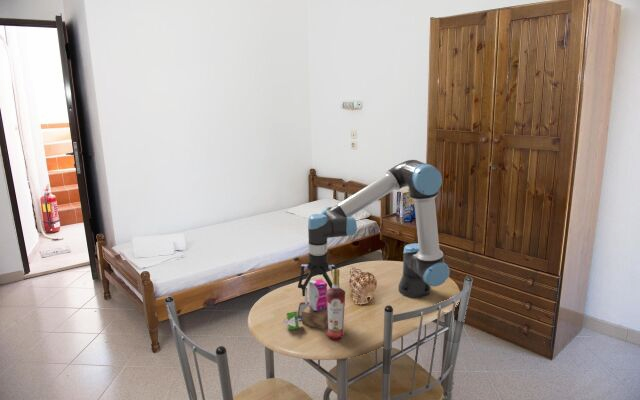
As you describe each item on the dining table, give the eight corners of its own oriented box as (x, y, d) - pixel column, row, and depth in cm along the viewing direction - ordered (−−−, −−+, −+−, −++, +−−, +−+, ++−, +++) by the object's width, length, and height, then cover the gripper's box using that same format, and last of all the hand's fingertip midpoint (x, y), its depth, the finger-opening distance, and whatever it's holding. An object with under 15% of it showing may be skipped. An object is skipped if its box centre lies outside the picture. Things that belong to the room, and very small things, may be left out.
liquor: (326, 341, 178) (326, 274, 171) (326, 331, 185) (325, 266, 178) (345, 341, 178) (346, 274, 171) (344, 331, 185) (344, 266, 178)
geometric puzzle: (280, 318, 191) (283, 309, 185) (296, 315, 193) (300, 306, 187) (285, 334, 187) (288, 326, 181) (301, 331, 189) (304, 322, 183)
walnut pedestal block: (334, 318, 196) (334, 305, 194) (324, 329, 187) (324, 316, 185) (312, 313, 200) (312, 300, 198) (302, 324, 191) (302, 311, 189)
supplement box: (314, 312, 188) (314, 285, 185) (308, 306, 193) (308, 280, 191) (327, 309, 190) (327, 283, 188) (321, 303, 196) (321, 278, 193)
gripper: (345, 249, 188) (344, 299, 194) (291, 248, 190) (292, 298, 195) (345, 256, 181) (344, 308, 187) (289, 255, 182) (290, 307, 188)
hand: (318, 303), depth 191 cm, fingers open, 9 cm apart
